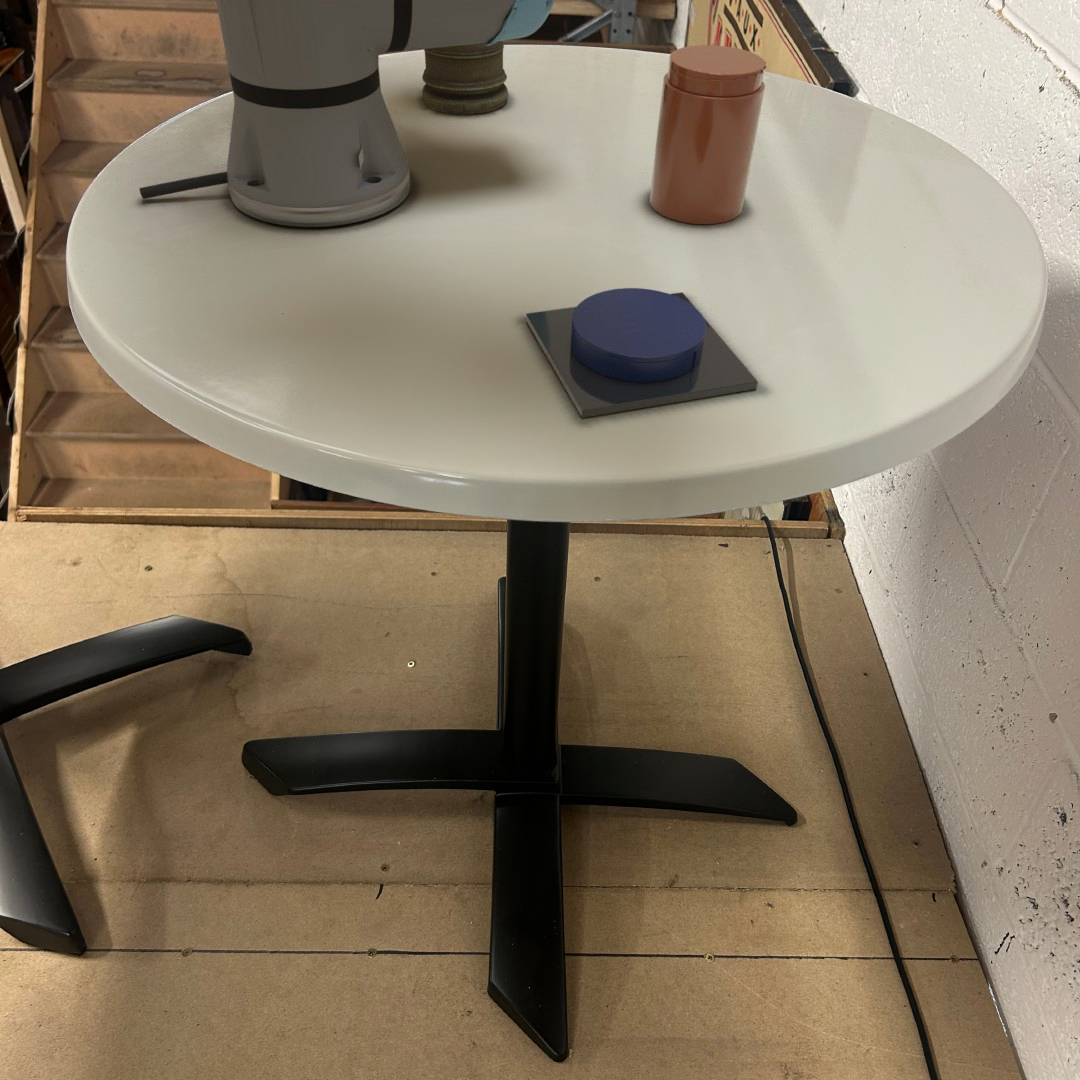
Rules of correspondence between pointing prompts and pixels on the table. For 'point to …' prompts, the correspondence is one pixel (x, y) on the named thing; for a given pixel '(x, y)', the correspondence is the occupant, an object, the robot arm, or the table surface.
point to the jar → (706, 133)
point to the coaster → (610, 395)
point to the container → (465, 78)
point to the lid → (637, 335)
